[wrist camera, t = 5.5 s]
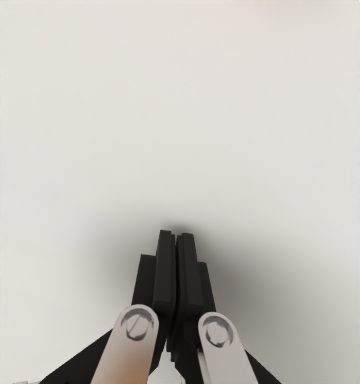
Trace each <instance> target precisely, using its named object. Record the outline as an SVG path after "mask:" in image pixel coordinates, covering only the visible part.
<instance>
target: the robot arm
mask: <svg viewBox="0 0 360 384" xmlns="http://www.w3.org/2000/svg"><path fill="white" fill-rule="evenodd" d="M166 338H167V342H166ZM165 342H166V351H167V352H171V362H175V368H176V369H177V370H178V372H179V373H180V374H181V384H281V383H280V382H279V381H278V380H277V379H276V378H275V377H274V376H273V375H272V374H271V373H270V372H269V371H267V370H266V369H265V368H264V367H263V366H262V365H261V364H260V363H259V362H258V361H257V360H256V359H255V358H254V357H252V356H251V355H250V354H249V353H248V352H247V351H246V350H245V349H244V348H243V345H242V343H241V340H240V338H239V335H238V333H237V330H236V328H235V327H234V325H233V323H232V322H231V321H230V320H229V319H228V318H227V317H225V316H224V315H223V314H220V313H218V312H216V308H215V303H214V299H213V294H212V289H211V284H210V279H209V274H208V269H207V265H206V263H205V262H198V261H197V256H196V249H195V243H194V236H193V234H187V233H182V235H178V236H177V240H176V245H175V235H174V234H171V231H166V230H160V235H159V240H158V246H157V251H156V256H151V255H143V254H141V258H140V263H139V269H138V274H137V279H136V284H135V289H134V294H133V299H132V304H131V306H129V307H127V308H125V309H124V310H123V311H122V312H121V313H120V315H119V317H118V318H117V321H116V323H115V325H114V328H113V329H111V330H110V331H109V332H107V333H106V334H104V335H103V336H102V337H100V338H99V339H97V340H96V341H95V342H93V343H92V344H91V345H89V346H88V347H86V348H85V349H84V350H82V351H81V352H80V353H78V354H77V355H75V356H74V357H73V358H71V359H70V360H68V361H67V362H66V363H64V364H63V365H62V366H60V367H59V368H57V369H56V370H55V371H53V372H52V373H50V374H49V375H48V376H46V377H45V378H44V379H43V380H42V381H39V382H34V383H29V384H147V380H148V376H149V375H150V374H151V373H152V372H153V371H154V370H155V369H156V368H157V367H158V365H159V361H160V357H161V353H162V352H163V349H164V346H165ZM13 384H28V381H23V382H18V383H13Z"/></svg>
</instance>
